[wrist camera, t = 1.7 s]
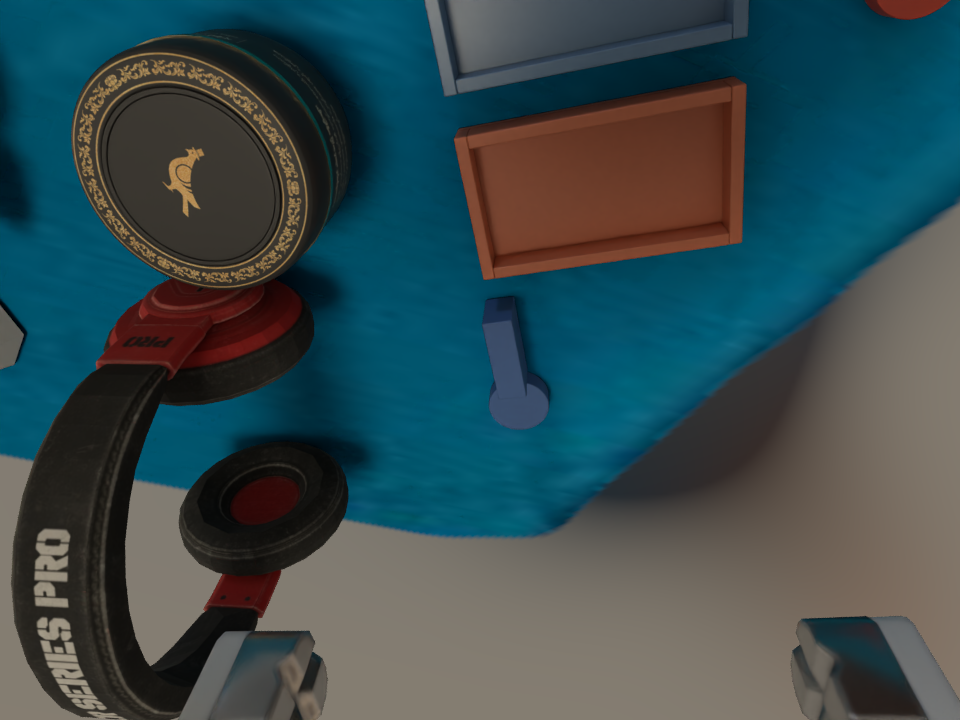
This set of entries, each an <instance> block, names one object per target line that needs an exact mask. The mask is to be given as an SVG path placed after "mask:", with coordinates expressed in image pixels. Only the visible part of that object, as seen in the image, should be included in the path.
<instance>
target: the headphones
mask: <svg viewBox="0 0 960 720" xmlns="http://www.w3.org/2000/svg"><path fill="white" fill-rule="evenodd" d="M313 337H314V320H313V315H312V311H311V309H310V306H309V303H308V302H307V301H306V300H305V299H304V298H303V297H302V295H301V294H300V293H299V292H298V291H296V290H294V289H292V288H290V287H288V286H286V285H285V284H283V283H281V282H279V281H277V280H275V279H272V280H270V281H268V282H266V283H264V284H261V285H258V286H255V287H251V288H246V289H239V290H213V289H206V288H201V287H196V286H192V285H189V284H186V283H183V282H180V281H177V280H175V279H173V278H172V279H169V280H167V281H165V282H163V283H161V284H159V285H157V286H156V287H155V288H153V289H152V290H151V291H149V292H148V294H147V295H146V296H145V297H144V298H143V299H142V300H140V301H139V302H137V303H136V304H134V305H133V306H132V307H130V308H129V309H128V310H127V311H126V312H125V313H124V314H123V315H122V316H121V317H120V318H119V320H118V321H117V323H116V325H115V326H114V328H113V329H112V330H111V331H110V332H109V335H108V338H107V341H106V343H105V347H104V354H103V355H102V356H101V357H100V358H99V359H98V360H97V361H96V368H97V370H96V371H94V372H92V373H91V374H90V375H89V376H88V377H86V378H85V379H84V380H83V381H82V382H81V383H80V384H79V385H78V386H77V387H76V389H75V390H74V392H73V393H72V394H71V396H70V397H69V399H68V400H67V402H66V403H65V405H64V406H63V407H62V409H61V410H60V412H59V413H58V415H57V416H56V417H55V419H54V421H53V423H52V425H51V427H50V429H49V431H48V433H47V435H46V437H45V439H44V440H43V442H42V444H41V446H40V448H39V450H38V452H37V454H36V457H35V460H34V463H33V466H32V469H31V472H30V475H29V478H28V481H27V484H26V487H25V490H24V493H23V496H22V501H21V506H20V511H19V516H18V521H17V526H16V531H15V536H14V541H13V558H12V577H11V587H12V598H13V610H14V622H15V626H16V629H17V632H18V635H19V638H20V641H21V645H22V647H23V651H24V654H25V657H26V660H27V662H28V664H29V665H30V668H31V669H32V671H33V672H34V674H35V676H36V678H37V679H38V681H39V683H40V684H41V686H42V688H43V689H44V691H46V692H47V694H48V695H49V696H50V697H52V699H53V700H54V701H55V702H56V703H57V704H58V705H59V706H60V707H61V708H63V709H66V710H68V711H70V712H72V713H74V714H76V715H79V716H81V717H93V718H106V719H121V720H171V719H174V718H177V717H180V715H181V713H182V711H183V709H184V707H185V705H186V702H187V700H188V698H189V696H190V694H191V692H192V690H193V688H194V686H195V684H196V682H197V680H198V678H199V676H200V674H201V672H202V670H203V668H204V666H205V664H206V661H207V659H208V657H209V655H210V653H211V651H212V649H213V647H214V645H215V643H216V641H217V640H218V639H219V638H220V637H221V636H222V635H223V633H224V632H229V631H255V628H256V625H257V621H258V618H262V617H263V614H264V612H265V610H266V608H267V606H268V604H269V601H270V599H271V596H272V594H273V592H274V589H275V587H276V585H277V582H278V580H279V578H280V574H281V569H285V568H287V567H289V566H291V565H293V564H295V563H297V562H299V561H301V560H303V559H305V558H307V557H308V556H309V555H311V554H312V553H313V552H315V551H316V550H318V549H319V548H320V547H321V546H323V545H324V544H325V543H326V541H327V540H328V539H329V538H330V537H331V536H332V534H334V532H335V531H336V530H337V528H338V527H339V525H340V523H341V521H342V519H343V517H344V515H345V513H346V508H347V503H348V486H347V481H346V476H345V474H344V472H343V470H342V469H341V467H340V466H339V464H338V463H337V461H336V460H335V458H333V457H332V456H330V455H329V454H328V453H326V452H325V451H323V450H321V449H318V448H316V447H313V446H310V445H307V444H304V443H297V442H289V441H285V442H269V443H265V444H260V445H255V446H251V447H249V448H246V449H243V450H241V451H238V452H235V453H233V454H231V455H230V456H228V457H226V458H224V459H222V460H221V461H219V462H217V463H216V464H215V465H213V466H212V467H211V468H210V469H208V470H207V471H206V472H205V473H203V474H202V475H201V477H200V478H199V479H198V480H197V481H196V483H195V484H194V485H193V486H192V487H191V489H190V490H189V492H188V493H187V495H186V498H185V500H184V502H183V504H182V506H181V508H180V516H179V529H180V533H181V536H182V540H183V543H184V546H185V547H186V549H187V550H188V552H189V553H190V554H191V555H192V556H193V557H194V558H195V559H196V561H197V562H198V563H199V564H201V565H203V566H205V567H207V568H209V569H211V570H213V571H215V572H217V573H222V576H221V578H220V580H219V582H218V584H217V586H216V588H215V590H214V592H213V594H212V596H211V597H210V599H209V601H208V602H207V604H206V605H205V607H204V609H203V610H204V611H205V612H204V613H203V614H202V615H201V616H200V617H199V618H198V619H197V620H196V621H195V622H194V623H193V624H192V626H191V627H190V628H189V629H188V630H187V631H186V633H185V634H184V635H183V636H182V637H181V638H180V639H179V641H178V642H177V643H176V644H175V645H174V646H173V647H172V648H171V649H170V650H169V651H168V652H167V653H166V654H165V655H164V656H163V657H162V658H160V660H159V661H157V663H155V664H153V665H152V666H149V664H148V663H147V662H146V661H145V658H144V656H143V654H142V651H141V649H140V647H139V644H138V642H137V640H136V637H135V633H134V630H133V625H132V621H131V617H130V612H129V605H128V596H127V587H126V578H125V575H126V573H125V538H126V529H127V520H128V511H129V501H130V496H131V490H132V485H133V480H134V475H135V469H136V466H137V463H138V460H139V457H140V454H141V451H142V448H143V445H144V442H145V439H146V436H147V433H148V431H149V428H150V426H151V423H152V421H153V418H154V416H155V414H156V411H157V409H158V406H159V404H166V405H175V406H185V405H203V404H209V403H214V402H219V401H224V400H229V399H233V398H235V397H238V396H241V395H244V394H247V393H250V392H253V391H256V390H258V389H260V388H262V387H264V386H266V385H268V384H270V383H272V382H274V381H276V380H278V379H279V378H280V377H282V376H283V375H284V374H286V373H287V372H288V371H290V370H291V369H292V368H294V367H295V365H296V364H297V363H298V362H299V361H300V359H301V358H302V357H303V356H304V355H305V353H306V352H307V350H308V349H309V348H310V345H311V342H312V340H313Z"/></svg>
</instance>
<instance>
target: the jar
mask: <svg viewBox="0 0 960 720" xmlns="http://www.w3.org/2000/svg"><path fill="white" fill-rule="evenodd" d="M71 141H72V152H73V158H74V163H75V167H76V171H77V174H78V177H79V180H80V182H81V185H82V188H83V190H84V192H85V194H86V196H87V198H88V200H89V202H90V204H91V205H92V207H93V209H94V211H95V212H96V214H97V215H98V217H99V218H100V219H101V221H102V222H103V224H104V225H105V226H106V227H107V229H108V230H109V231H110V232H111V233H112V234H113V236H114V237H115V238H116V239H117V240H118V241H119V242H120V243H121V244H122V245H123V246H124V247H125V248H126V249H128V250H129V251H130V252H131V253H132V254H133V255H135V256H136V257H137V258H139V259H140V260H141V261H143V262H144V263H146V264H147V265H149V266H150V267H152V268H153V269H155V270H157V271H158V272H160V273H162V274H164V275H166V276H168V277H170V278H173V279H175V280H177V281H180V282H183V283H186V284H189V285H192V286H196V287H201V288H206V289H213V290H239V289H246V288H251V287H255V286H258V285H261V284H264V283H266V282H268V281H270V280H272V279H274V278H276V277H278V276H279V275H281V274H283V273H284V272H285V271H287V270H288V269H289V268H290V267H291V266H292V265H294V264H295V263H296V262H297V261H298V260H299V259H300V258H301V257H302V255H303V254H304V253H306V252H307V251H308V249H309V248H310V247H311V246H312V245H313V243H314V242H315V241H316V240H317V238H318V237H319V235H320V233H321V231H322V230H323V228H324V226H325V225H326V224H327V222H328V221H329V220H330V219H331V217H332V216H333V215H334V213H335V212H336V210H337V209H338V207H339V205H340V204H341V202H342V200H343V198H344V195H345V193H346V190H347V187H348V183H349V179H350V174H351V165H352V145H351V136H350V131H349V126H348V122H347V119H346V116H345V113H344V111H343V108H342V106H341V104H340V102H339V100H338V98H337V96H336V94H335V93H334V91H333V89H332V88H331V87H330V85H329V84H328V82H327V81H326V80H325V78H324V77H323V76H322V75H321V74H320V73H319V71H318V70H317V69H316V68H315V67H314V66H313V65H311V64H310V63H309V62H308V61H307V60H306V59H304V58H303V57H302V56H301V55H299V54H298V53H296V52H295V51H293V50H292V49H290V48H288V47H286V46H284V45H283V44H281V43H278V42H276V41H274V40H272V39H270V38H267V37H265V36H262V35H259V34H256V33H252V32H248V31H242V30H234V29H215V30H208V31H203V32H198V33H193V34H177V35H168V36H164V37H159V38H154V39H151V40H148V41H146V42H143V43H141V44H138V45H137V46H135V47H133V48H130V49H127V50H125V51H123V52H121V53H119V54H117V55H115V56H114V57H112V58H111V59H109V60H108V61H106V62H105V63H104V64H103V65H102V66H100V67H99V68H98V69H97V70H96V71H95V72H94V73H93V75H92V76H91V77H90V78H89V80H88V81H87V82H86V84H85V86H84V87H83V89H82V91H81V93H80V95H79V98H78V100H77V103H76V107H75V110H74V115H73V120H72V131H71Z"/></svg>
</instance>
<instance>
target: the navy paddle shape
mask: <svg viewBox="0 0 960 720" xmlns="http://www.w3.org/2000/svg"><path fill="white" fill-rule="evenodd" d="M482 327H483V331H484V336H485V340H486V344H487V349H488V353H489V358H490V362H491V367H492V371H493V376H494V380H495V382H494V383H493V385H492V387H491V390H490V398H489V410H490V412H491V414H492V416H493V418H494V419H495V420H496V421H497V422H498V423H500V424H501V425H503V426H505V427H508V428H511V429H528V428H531V427H534V426H536V425H538V424H539V423H540V422H542V421H543V419H544V418H545V417H546V415H547V413H548V409H549V394H548V389H547V387H546V385H545V383H544V382H543V381H542V380H541V379H540V378H539V377H537V376H536V375H534V374H532V373H529V372H527V364H526V359H525V354H524V348H523V343H522V338H521V332H520V327H519V322H518V316H517V311H516V306H515V300H514V297H513V296H511V297H504V298H497V299H490V300H486V303H485V310H484V316H483V323H482Z"/></svg>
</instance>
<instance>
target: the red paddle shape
mask: <svg viewBox="0 0 960 720" xmlns="http://www.w3.org/2000/svg"><path fill="white" fill-rule="evenodd" d="M949 1H950V0H865V2H866V3H867V5H868V6H869V7H870V8H871V9H872V10H873V11H874V12H876V13H878V14H879V15H882V16H886V17H891V18H897V19H903V20H910V19H917V18H921V17H924V16H926V15H929V14H931V13H933V12H935V11H936V10H938V9H939V8H941V7H942V6H944V5H945V4H946V3H947V2H949Z"/></svg>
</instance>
